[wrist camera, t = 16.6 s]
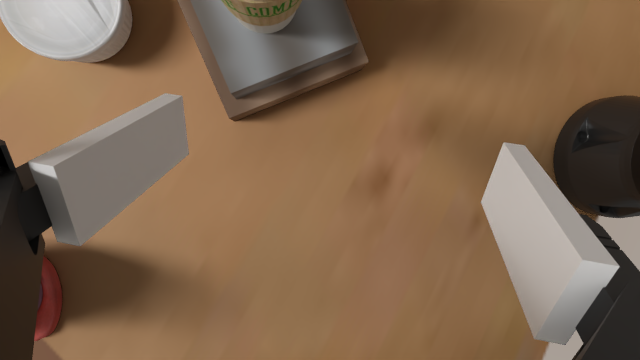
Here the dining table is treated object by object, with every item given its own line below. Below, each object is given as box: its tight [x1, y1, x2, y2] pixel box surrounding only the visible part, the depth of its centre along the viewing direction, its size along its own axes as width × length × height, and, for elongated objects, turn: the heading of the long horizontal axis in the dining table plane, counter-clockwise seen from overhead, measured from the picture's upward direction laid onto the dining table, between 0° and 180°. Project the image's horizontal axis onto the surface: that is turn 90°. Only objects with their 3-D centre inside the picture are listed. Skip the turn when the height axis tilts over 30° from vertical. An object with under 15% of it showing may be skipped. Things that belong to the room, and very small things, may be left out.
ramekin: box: [0, 0, 132, 63], centre depth 36 cm, size 11×11×5 cm
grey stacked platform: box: [177, 0, 369, 121], centre depth 37 cm, size 16×16×8 cm
